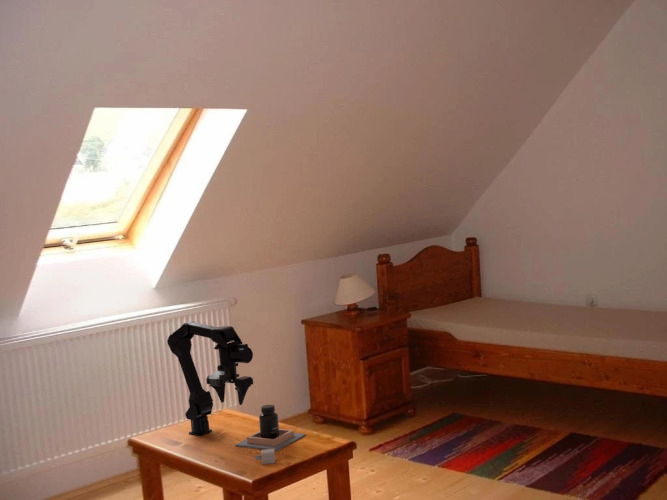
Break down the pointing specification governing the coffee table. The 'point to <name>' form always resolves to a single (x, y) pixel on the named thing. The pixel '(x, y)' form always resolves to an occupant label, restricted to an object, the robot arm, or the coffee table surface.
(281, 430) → the dock tray
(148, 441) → the coffee table surface
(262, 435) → the supplement bottle
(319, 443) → the coffee table surface
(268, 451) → the usb wall charger
